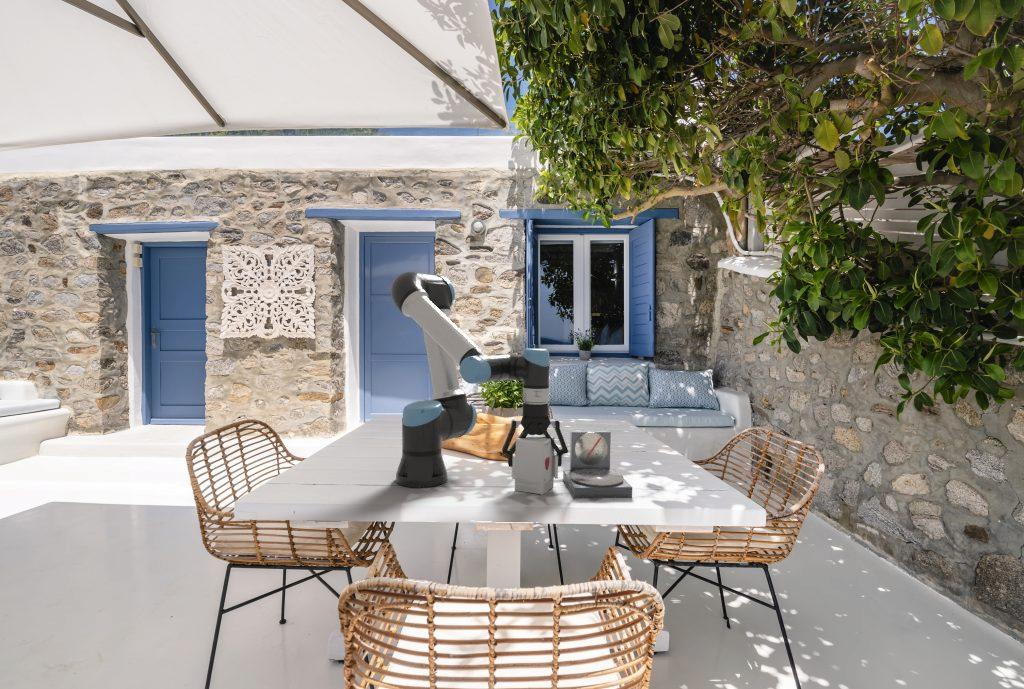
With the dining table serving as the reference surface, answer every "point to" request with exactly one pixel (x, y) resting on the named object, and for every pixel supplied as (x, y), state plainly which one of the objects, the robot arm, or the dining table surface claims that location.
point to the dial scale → (593, 468)
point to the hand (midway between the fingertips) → (534, 477)
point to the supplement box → (534, 464)
